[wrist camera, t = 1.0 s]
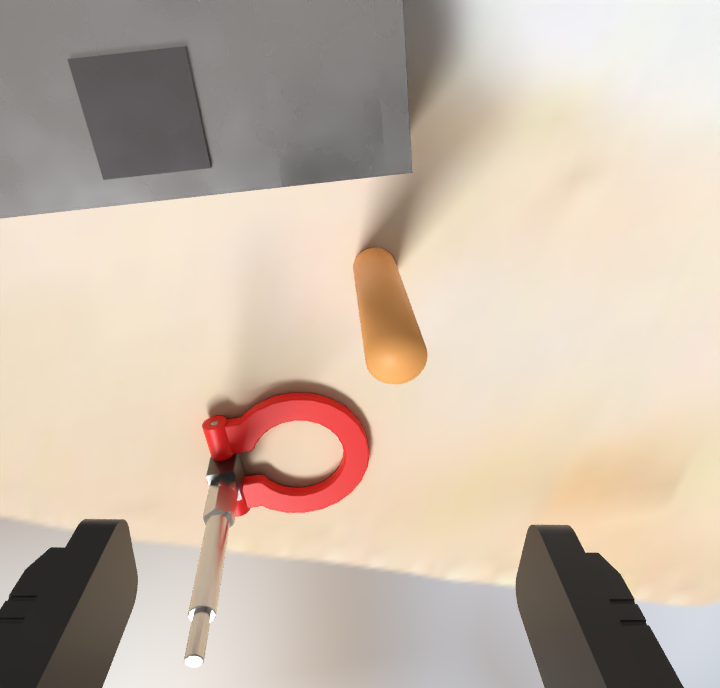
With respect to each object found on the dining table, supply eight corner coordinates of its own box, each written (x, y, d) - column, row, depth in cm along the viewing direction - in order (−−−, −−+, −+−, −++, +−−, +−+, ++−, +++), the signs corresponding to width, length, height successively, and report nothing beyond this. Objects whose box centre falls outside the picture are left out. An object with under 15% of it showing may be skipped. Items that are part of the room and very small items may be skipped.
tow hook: (358, 377, 32) (198, 403, 32) (392, 550, 20) (141, 593, 20) (374, 488, 36) (231, 512, 35) (410, 687, 24) (200, 725, 24)
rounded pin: (394, 244, 28) (425, 326, 19) (397, 285, 29) (428, 380, 20) (351, 249, 28) (362, 332, 19) (355, 290, 29) (368, 387, 20)
